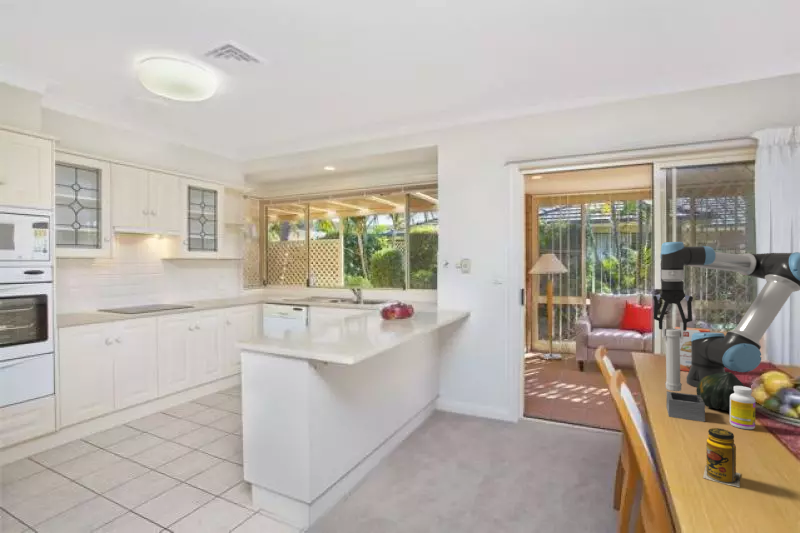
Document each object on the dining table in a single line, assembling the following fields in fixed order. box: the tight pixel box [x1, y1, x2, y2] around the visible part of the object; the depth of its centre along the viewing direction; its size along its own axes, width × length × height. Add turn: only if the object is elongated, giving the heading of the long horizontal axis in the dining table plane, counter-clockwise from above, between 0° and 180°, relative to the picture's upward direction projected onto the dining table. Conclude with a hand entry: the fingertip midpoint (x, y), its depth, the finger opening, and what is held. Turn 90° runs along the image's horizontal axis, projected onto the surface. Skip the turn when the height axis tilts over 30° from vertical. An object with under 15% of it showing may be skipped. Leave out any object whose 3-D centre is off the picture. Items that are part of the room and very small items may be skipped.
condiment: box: [702, 427, 741, 488], centre depth 109 cm, size 7×8×12 cm
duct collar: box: [666, 391, 706, 422], centre depth 151 cm, size 10×10×6 cm
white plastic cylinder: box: [664, 315, 683, 392], centre depth 169 cm, size 6×6×30 cm
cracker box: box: [674, 326, 711, 372], centre depth 206 cm, size 14×6×21 cm, turn 58°
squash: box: [695, 371, 746, 413], centre depth 156 cm, size 14×15×15 cm
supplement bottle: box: [729, 385, 756, 431], centre depth 140 cm, size 7×7×13 cm
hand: (672, 338), depth 169 cm, fingers closed on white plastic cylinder, 5 cm apart
